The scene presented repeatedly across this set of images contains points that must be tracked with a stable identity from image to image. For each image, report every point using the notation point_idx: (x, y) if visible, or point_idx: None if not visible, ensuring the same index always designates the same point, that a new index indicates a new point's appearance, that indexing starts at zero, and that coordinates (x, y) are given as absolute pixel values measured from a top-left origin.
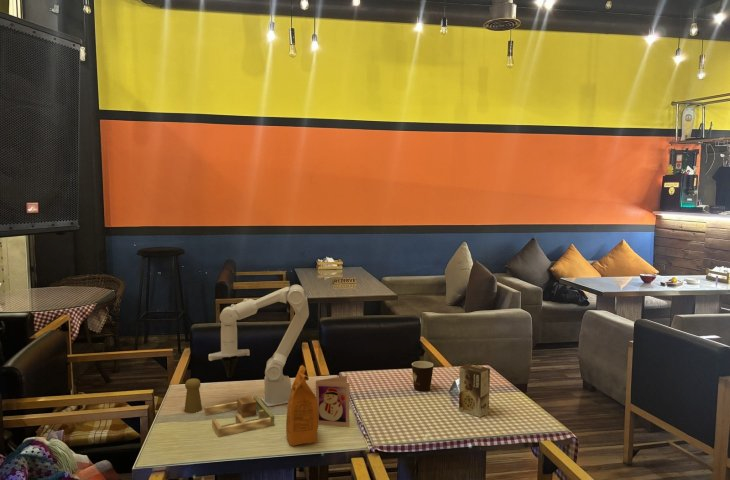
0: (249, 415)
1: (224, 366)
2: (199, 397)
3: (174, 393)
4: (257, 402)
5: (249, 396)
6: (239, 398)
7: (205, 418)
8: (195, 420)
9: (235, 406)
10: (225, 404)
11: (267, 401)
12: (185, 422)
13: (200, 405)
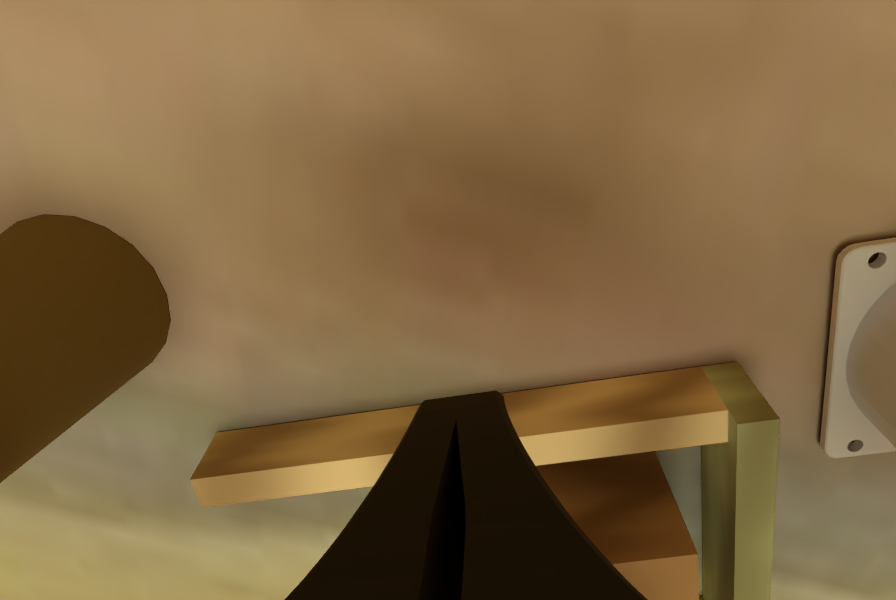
0: None
1: (321, 561)
2: (71, 415)
3: None
4: (731, 542)
5: (676, 559)
6: None
7: (233, 506)
8: (153, 518)
9: None
10: None
11: (863, 412)
12: (77, 529)
13: (134, 367)
